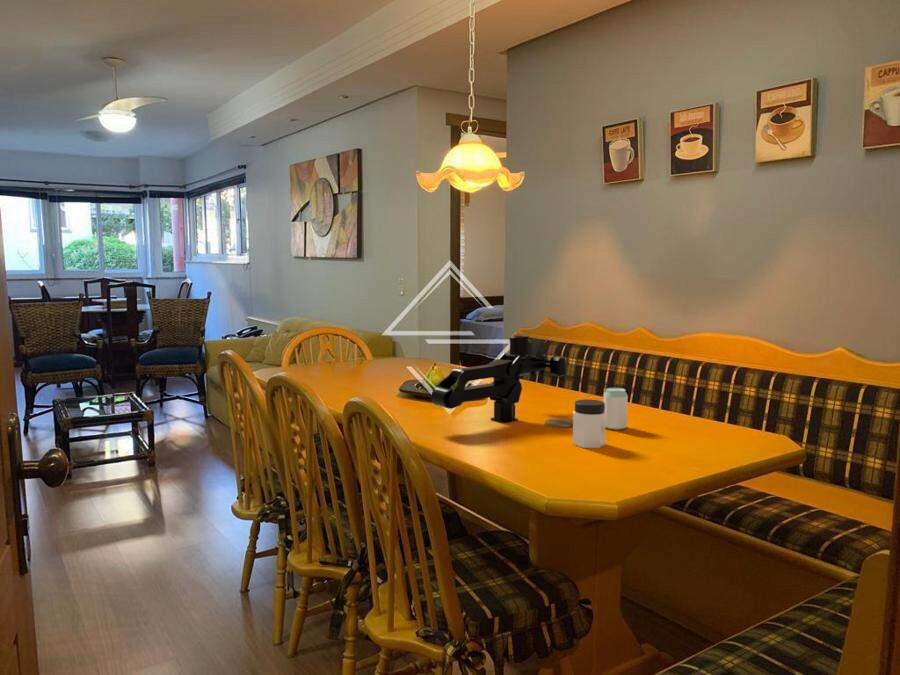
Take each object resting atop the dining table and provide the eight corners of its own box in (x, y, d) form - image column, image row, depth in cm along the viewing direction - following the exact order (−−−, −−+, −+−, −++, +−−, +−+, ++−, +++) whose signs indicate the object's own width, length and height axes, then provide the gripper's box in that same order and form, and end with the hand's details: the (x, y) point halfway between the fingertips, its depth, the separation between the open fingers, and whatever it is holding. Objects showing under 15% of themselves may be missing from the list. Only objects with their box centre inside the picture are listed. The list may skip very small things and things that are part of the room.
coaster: (569, 429, 205) (569, 427, 205) (539, 425, 210) (539, 423, 210) (581, 422, 214) (581, 420, 214) (551, 418, 219) (551, 417, 219)
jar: (611, 446, 186) (612, 403, 185) (588, 450, 182) (589, 406, 181) (589, 439, 194) (590, 397, 193) (567, 442, 190) (567, 400, 189)
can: (629, 426, 208) (630, 388, 207) (623, 431, 202) (624, 392, 201) (607, 424, 212) (608, 386, 210) (600, 428, 206) (600, 390, 204)
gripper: (547, 344, 213) (580, 340, 223) (506, 339, 228) (538, 336, 238) (547, 379, 215) (579, 374, 224) (506, 371, 229) (538, 367, 239)
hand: (558, 361), depth 231 cm, fingers open, 9 cm apart
